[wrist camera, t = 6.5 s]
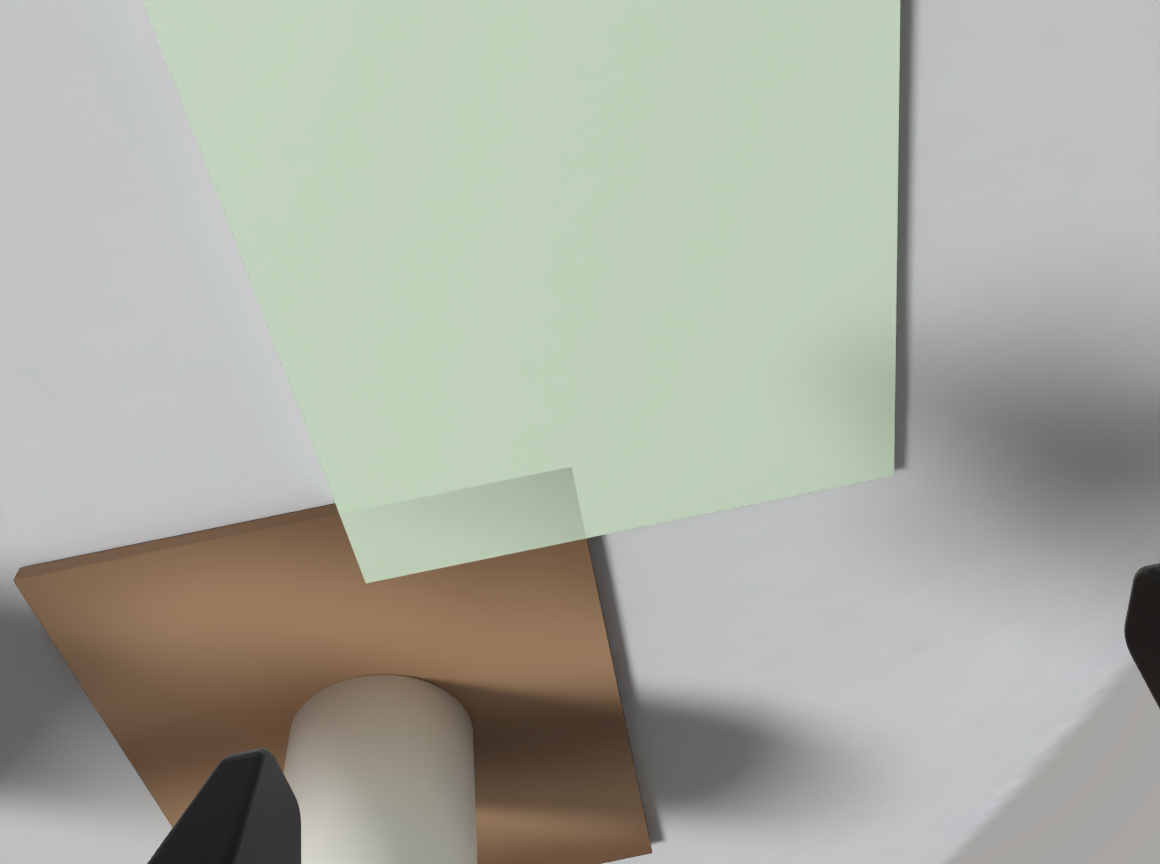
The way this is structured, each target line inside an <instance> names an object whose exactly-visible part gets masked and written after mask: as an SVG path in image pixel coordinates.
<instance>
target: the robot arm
mask: <svg viewBox="0 0 1160 864" xmlns="http://www.w3.org/2000/svg"><path fill="white" fill-rule="evenodd" d="M1124 631H1125V639H1126V644H1127V647H1128V649H1129V652H1130V654H1131V656H1132V658H1133V660H1134V662H1135V663H1136V665H1137V667H1138V669H1139V671H1140V673H1141V675H1142V677H1143V679H1144V680H1145V682H1146V684H1147V686H1148V688H1149V690H1150V692H1151V694H1152V696H1153V697H1154V699H1155V701H1156V703H1157V705H1158V707H1159V709H1160V563H1158V564H1154V565H1149V566H1144V567H1142V568H1140V569H1139V570H1138V572H1137V573H1136V574H1135V576H1134V580H1133V585H1132V590H1131V595H1130V600H1129V605H1128V611H1127V616H1126V621H1125V629H1124ZM147 864H301V815H300V809H299V805H298V802H297V799H296V797H295V795H294V793H293V791H292V789H291V787H290V785H289V783H288V781H287V779H286V777H285V775H284V773H283V772H282V770H281V768H280V766H279V764H278V762H277V760H276V758H275V756H274V755H273V753H272V752H271V751H269V750H268V749H266V748H259V749H254V750H249V751H244V752H239V753H234V754H231V755H228V756H226V757H225V758H224V759H222V760H221V761H220V762H219V764H218V765H217V766H216V768H215V769H214V770H213V772H212V773H211V775H210V776H209V777H208V779H207V780H206V782H205V783H204V784H203V786H202V787H201V789H200V790H199V792H198V793H197V794H196V796H195V797H194V799H193V800H192V801H191V803H190V804H189V806H188V807H187V808H186V810H185V811H184V813H183V814H182V815H181V817H180V818H179V820H178V821H177V823H176V824H175V825H174V827H173V828H172V830H171V831H170V832H169V834H168V835H167V837H166V838H165V839H164V841H163V842H162V844H161V845H160V847H159V848H158V849H157V851H156V852H155V854H154V855H153V856H152V858H151V859H150V861H149V862H148V863H147Z"/></svg>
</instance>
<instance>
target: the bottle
mask: <svg viewBox="0 0 1160 864" xmlns="http://www.w3.org/2000/svg"><path fill="white" fill-rule="evenodd" d="M283 773H284V775H285V777H286V779H287V781H288V783H289V785H290V787H291V789H292V791H293V793H294V795H295V797H296V799H297V802H298V805H299V809H300V815H301V864H477V839H476V809H475V778H474V747H473V727H472V723H471V719H470V717H469V715H468V713H467V711H466V710H465V708H464V707H463V705H462V704H461V703H460V702H459V701H458V700H457V699H456V698H455V697H453V696H452V695H451V694H450V693H448V692H447V691H445V690H443V689H442V688H440V687H438V686H436V685H433V684H431V683H429V682H426V681H423V680H420V679H416V678H411V677H406V676H398V675H368V676H362V677H356V678H352V679H348V680H344V681H342V682H339V683H336V684H333V685H331V686H329V687H327V688H325V689H323V690H322V691H320V692H318V693H317V694H315V695H314V696H313V697H311V698H310V699H309V700H308V701H307V702H306V703H305V704H304V705H303V706H302V707H301V708H300V709H299V711H298V712H297V714H296V715H295V717H294V719H293V722H292V724H291V728H290V733H289V740H288V746H287V753H286V759H285V765H284V772H283Z"/></svg>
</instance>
